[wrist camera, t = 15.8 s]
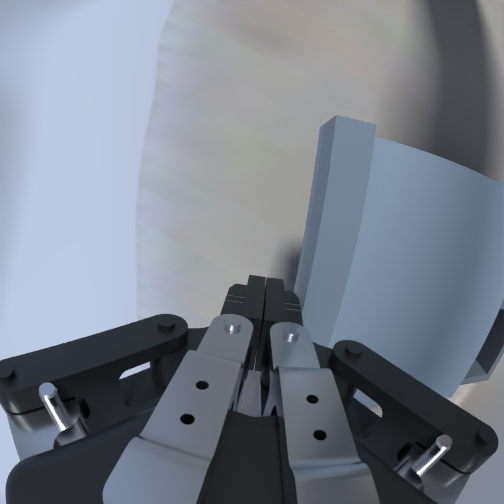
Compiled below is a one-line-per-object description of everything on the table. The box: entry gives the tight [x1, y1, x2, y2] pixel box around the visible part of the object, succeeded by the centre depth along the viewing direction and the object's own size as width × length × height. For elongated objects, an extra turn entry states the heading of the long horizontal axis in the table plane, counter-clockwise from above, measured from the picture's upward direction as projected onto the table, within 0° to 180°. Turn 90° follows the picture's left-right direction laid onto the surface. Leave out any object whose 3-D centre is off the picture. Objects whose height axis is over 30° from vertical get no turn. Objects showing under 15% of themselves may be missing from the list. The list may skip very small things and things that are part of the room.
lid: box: [294, 115, 504, 406], centre depth 12 cm, size 16×15×4 cm
